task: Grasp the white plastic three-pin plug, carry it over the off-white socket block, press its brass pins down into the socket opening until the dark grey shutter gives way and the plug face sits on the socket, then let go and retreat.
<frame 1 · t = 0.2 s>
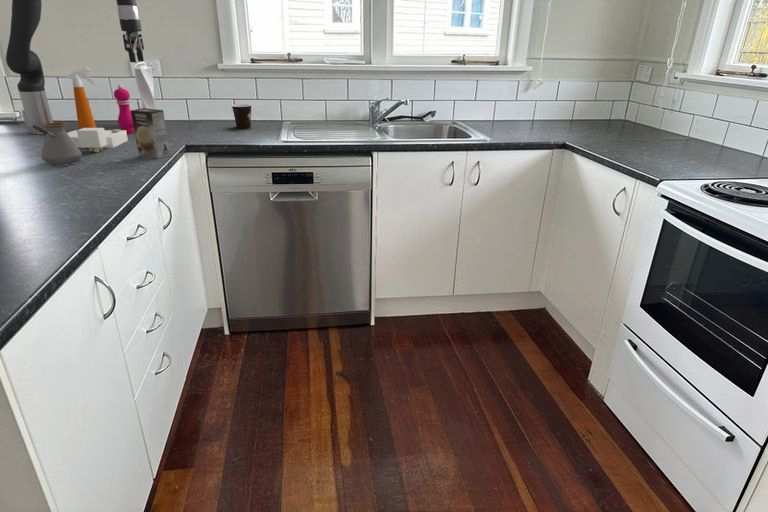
hand: (137, 61, 204), 29 cm above the worktop, fingers open, 8 cm apart
socket: (94, 143, 194), on the worktop
coffee mug: (241, 128, 230), on the worktop
skyscraper: (151, 126, 234), on the worktop
pepper mill: (129, 133, 216), on the worktop
plug: (95, 151, 183), on the worktop
spray bottle: (93, 132, 217), on the worktop
shutter: (92, 135, 193), point 3 cm above the worktop, slide at 0.0 cm
coffee pot: (58, 167, 161), on the worktop
coffee box: (154, 156, 177), on the worktop
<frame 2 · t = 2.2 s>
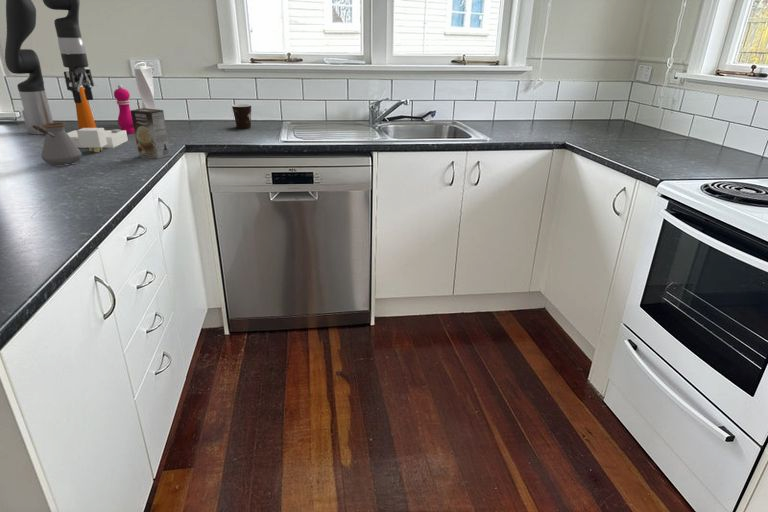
hand: (84, 101, 175), 18 cm above the worktop, fingers open, 8 cm apart
nothing on the worktop moved.
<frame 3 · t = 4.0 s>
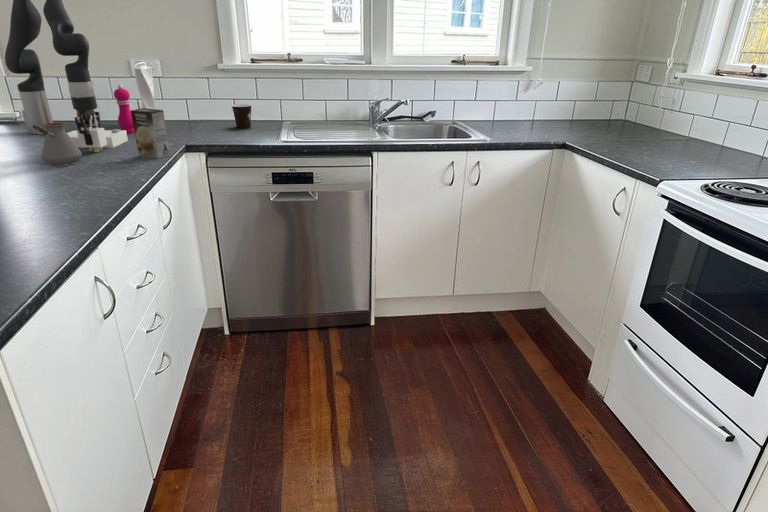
hand: (93, 143, 181), 3 cm above the worktop, fingers closed on plug, 5 cm apart
plug: (95, 151, 183), on the worktop, touching gripper
everything else where it was.
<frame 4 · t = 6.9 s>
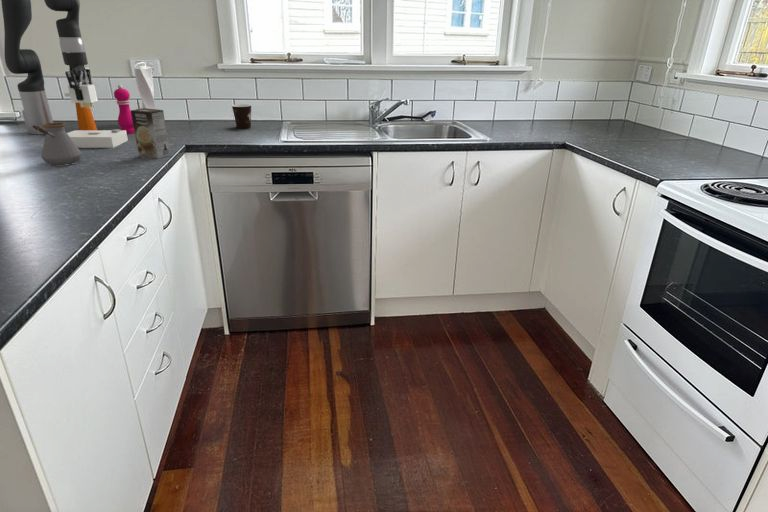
hand: (84, 99, 187), 17 cm above the worktop, fingers closed on plug, 5 cm apart
plug: (86, 107, 188), point 14 cm above the worktop, touching gripper
everything else where it was.
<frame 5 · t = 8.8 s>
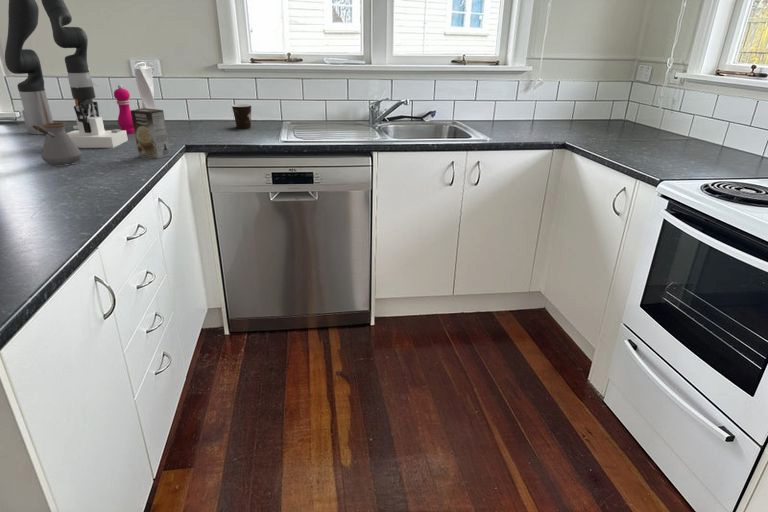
hand: (91, 131, 192), 5 cm above the worktop, fingers closed on plug, 5 cm apart
plug: (93, 138, 193), point 2 cm above the worktop, touching gripper, socket
shutter: (93, 139, 193), point 2 cm above the worktop, slide at 1.5 cm
everything else where it was.
when the fingers open (5 cm above the worktop, at t = 10.1 s): plug stays where it is, resting on socket.
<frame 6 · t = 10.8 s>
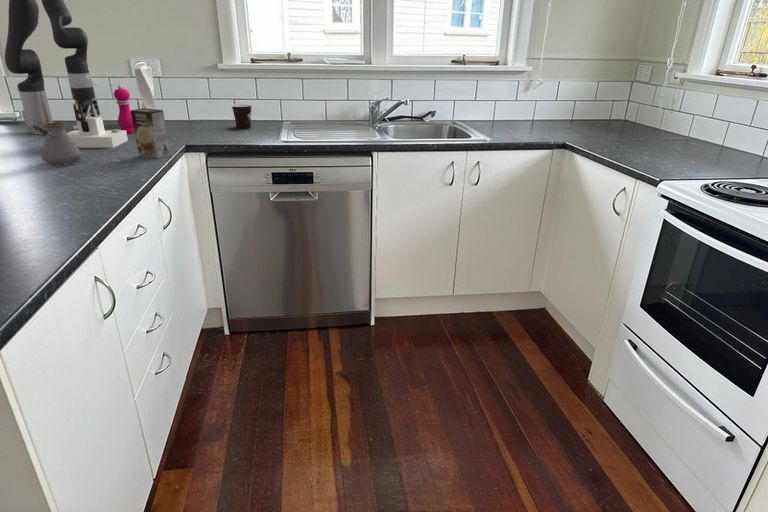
hand: (91, 129, 192), 5 cm above the worktop, fingers open, 8 cm apart
plug: (93, 138, 193), point 2 cm above the worktop, touching socket
everything else where it was.
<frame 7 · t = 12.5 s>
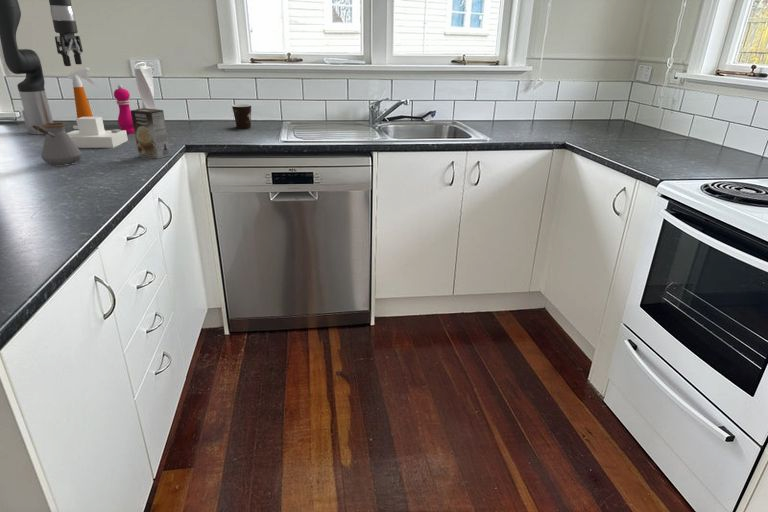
hand: (73, 65, 193), 28 cm above the worktop, fingers open, 8 cm apart
nothing on the worktop moved.
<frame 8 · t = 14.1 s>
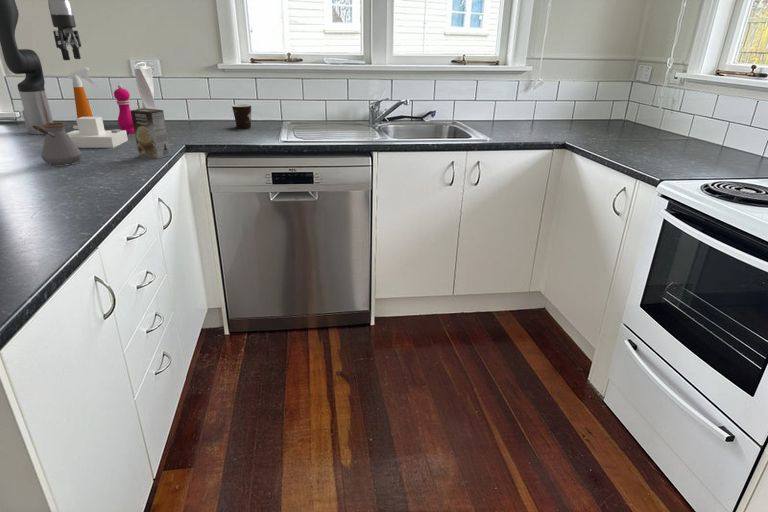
hand: (72, 59, 194), 30 cm above the worktop, fingers open, 8 cm apart
nothing on the worktop moved.
at the end: plug 0.1 cm off-centre on the socket, point 2.0 cm above the socket's base; shutter slide at 1.5 cm; the gripper is holding nothing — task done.
